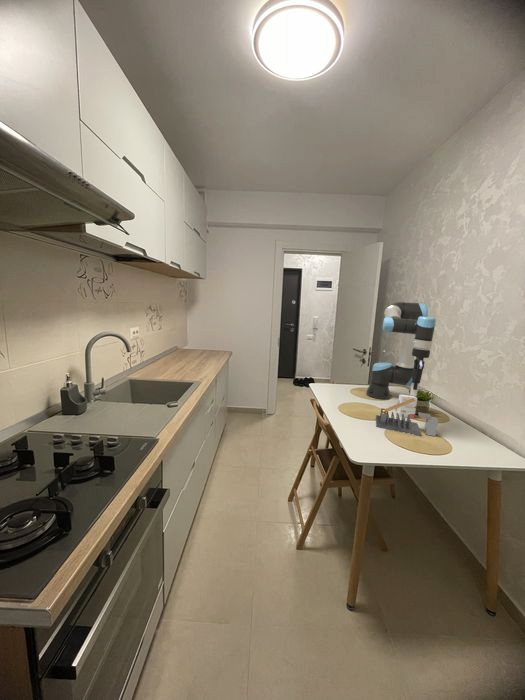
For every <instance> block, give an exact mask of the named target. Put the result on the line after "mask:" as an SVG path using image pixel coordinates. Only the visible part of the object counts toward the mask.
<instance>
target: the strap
mask: <svg viewBox="0 0 525 700" xmlns="http://www.w3.org/2000/svg"><path fill="white" fill-rule="evenodd" d="M414 401H415V400H414V398H412V399H410V400H407V401H404V402H402V403H399V404H398V403H396V404H394V405H392V406H389V407H386V408H383V409H382V412H383V413H387V412H388V413H389V412H390V411H391V412H392V411H393V410H395V409H396V410H397V408H399V407H401V406H404V405H406V404H409V403H412V402H414Z"/></svg>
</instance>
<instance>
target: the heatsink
mask: <svg viewBox="0 0 525 700" xmlns="http://www.w3.org/2000/svg"><path fill="white" fill-rule="evenodd" d="M382 409H383V408H382V407H381V409H380V415H378V414H376V415H375V427H376V428H380V429H383V430H389V431H393V430H394V431H393V432H398V431H399V433H403V432H405V433H404V434H407V433H410V434H409V435H412V434H414V435H413V436H417V435H419V436H418V437H421V434H422V432H421V430H420V427H419V424H418V422H413V421H412V420H411V418H410V417H409V415H407V417H404V414H402V417H399V414H398V413H397V412H396V416H395V413H394V412H393V411H391V415H390V414H389V411H388V412H386V413H383V412H382Z"/></svg>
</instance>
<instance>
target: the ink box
mask: <svg viewBox="0 0 525 700" xmlns="http://www.w3.org/2000/svg"><path fill="white" fill-rule="evenodd" d="M412 398H414V400H415V401H414V402H412V403H409V404H406V405H404V406H401V407H399V408H396V414H397V413H398V414H399V417H400V418H402V414H404V417H405V418H407V415H409V417H410V419H415V417H416V410H417V405H418V397H417V396H413V395H407V394H398V402H397V404H399V403H402V402H404V401H407V400H410V399H412Z"/></svg>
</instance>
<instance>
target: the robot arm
mask: <svg viewBox="0 0 525 700" xmlns="http://www.w3.org/2000/svg"><path fill="white" fill-rule="evenodd" d="M428 311H429V310H428V306H427V304H425V303H420V302H403V301H399V302H398V301H397V302H393V303H391V304H389V305H388V306H386V308H385V309H384V312H383V313H384V318H383V322H382V331H383V332H388V333H396V334H397V333H398V334H403V336H402V340H401V345H400V353H399V358H398V362H396V363H395V365H393V364H392V363H391V362H376V363H374V364H373V365H372V369H371V371H372V372H371V377H370V384H369V386H368V387H367V388H366V395H367V396H368V397H370V398H374V399H378V400H389V399H390V397H391V393H390V389H389V385H390V384H395V385H400V386H404V387H405V386H407V387H410V393H409V394H410V395H409V396H415V397H417V396H418V391H419V384H421V380H422V376H423V375H422V374H423V371H424V368H425V361H424V359H429V358H430V355H431V349H432V345H433V338H434V337H433V336H434V333H435V328H436V325H437V324H436V321H437V320H436V317H432V316H428V315H429V313H428Z"/></svg>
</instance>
